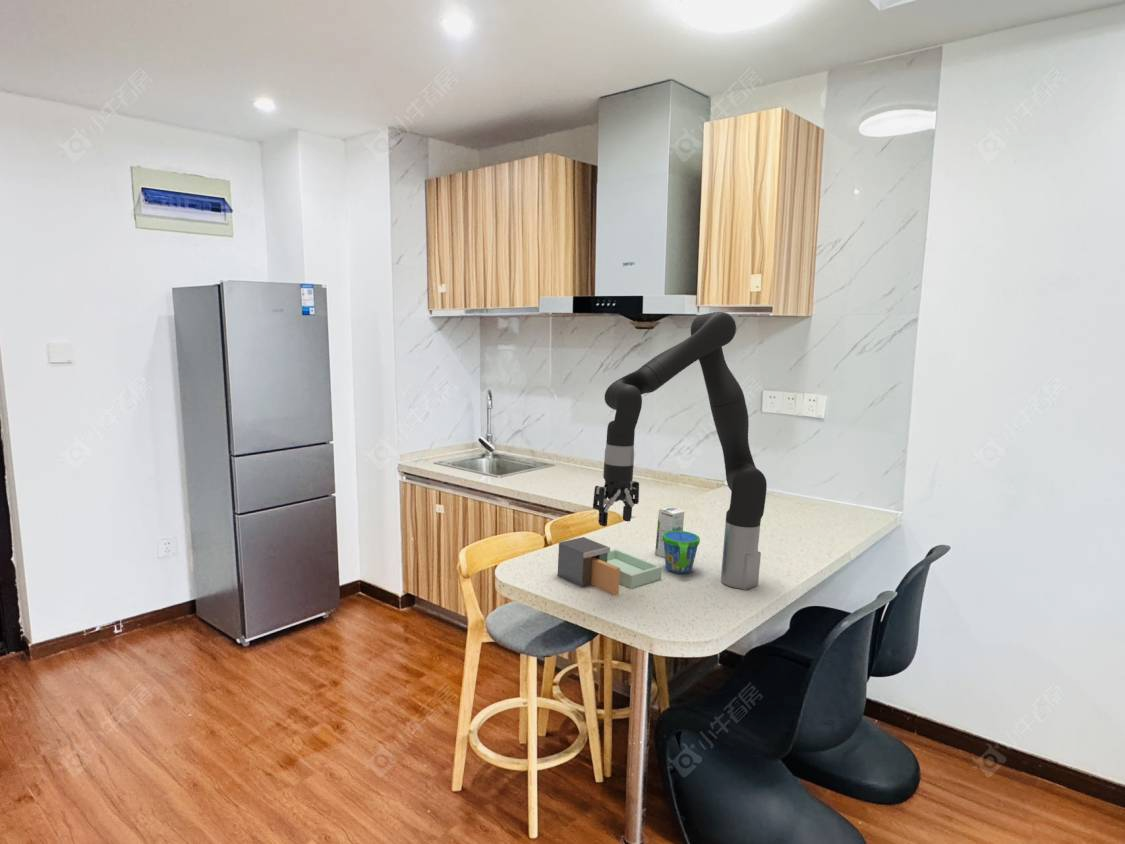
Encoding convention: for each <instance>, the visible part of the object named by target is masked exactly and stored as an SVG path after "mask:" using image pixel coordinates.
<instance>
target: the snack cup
mask: <svg viewBox="0 0 1125 844" xmlns="http://www.w3.org/2000/svg"><path fill="white" fill-rule="evenodd" d="M700 540H701V538H700V536H699V535H697V534H695V533H693V532H690V531H685V530H683V531H667V532H665V533H664V534H663V541H664V551H665V557H664V561H665V563H664V564H665V568H666V569H667V570H668V571H669V572H672V573H675V574H688V573H691V572H692V570H693V567H694V563H695V559H696V555H697V551H698V546H699V545H700V542H701V541H700Z"/></svg>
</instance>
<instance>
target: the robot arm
mask: <svg viewBox="0 0 1125 844" xmlns="http://www.w3.org/2000/svg"><path fill="white" fill-rule="evenodd" d="M736 333H737V323H736V321H735V319H734V317H733V316H732V315H730V314H729V313H727V312H725V311H713V312H708V313H704V314H700V315H697V316H696V317H695V318H694V319H693V321H692V322H691V325H690V336H689V337H688V338H685V339H684V340H683V341H681V342H680V343H678V344H675V345H674V346H671V347H670V348H668V349H666V350H664V351H663V352H661V353H659V354H657V355H656V356H654V357H653V358H652V359H650V360H648V361H647V362H646V363H644V364H643V365H642V366H641V367H639V368H638V369H637V370H634V371H633V372H631V373H629V374H626V375H625V376H622V377H620V378H619V379H616V380H615V381H613V382H612V383H611V384H610V385H609V386H608V387H607V389H606V390H605V392H604V402H605V404H606V405H607V407H608V408H610V409H612V410H615V414H614V415H615V416H614V420H611V421H609V422H608V423H607V430H606V443H605V449H604V457H603V459H604V461H603V476H602V478H603V479H604V481H605V482H604V485H603V486H599V485H596V486H595V487H594V491H593V492H594V493H593V500H592V501H593V502H592V509H594V510H597V511H598V525H600V526H601V527H607V526H608V519H609V518H608V517H609V516H608V515H609V512H608V511H609V509H610V508H611V506H613V505H614V504H615V503H616V502H619V501H622V504H623V507H622V509H623V511H622V520H623V521H625V522H628V523H629V522H630V521H631V519H632V513H633V507H634V506H635V505H639V502H640V500H639V499H640V496H639V495H640V483H639V482H638V481H635V480H633V479H634V478H633V477H634V466H635V465H634V462H635V432H636V427H637V424H638V422H639V421H638V420H639V419H640V418H639V417H640V413H641V410H642V405H643V398H642V395H644V394H650V393H653V392H656V391H657V390H659V388H661V387H662V386H663V385H665V384H667V382H669V381H670V380H671V379H673V378H674V377H676V376H677V375H678V374H679V373H681V372H682V371H684V370H685V369H686V368H687V367H688V368H689V366H691V365H692V364H694V363H695V362H697V361H699V364H700V367H701V371H702V376H703V380H704V384H705V388H706V392H707V396H708V401H709V407H710V410H711V414H712V415H711V416H712V418H713V422H714V426H715V430H716V434H717V437H718V439H719V443H720V446H721V450H722V455H723V462H724V470H725V478H726V479H725V480H726V484H727V486H728V488H729V490H730V491H731V492H730V493H731V494H730V503H729V509H728V510H727V511H726V513H725V523H724V534H723V535H724V538H723V547H722V549H723V550H722V559H721V572H720V582H721V584H723V585H725V586H727V587H731V588H734V589H741V590H744V591H746V590H749V589H752V588H755V587H757V586H758V585H759V579H760V567H761V558H762V557H761V555H762V553H761V551H759V542H760V531H761V522H762V518H763V516H764V513H765V505H766V499H767V487H768V486H767V479H766V476H765V474H764V473H763V472H762V471H761V470H760V469H759V468H757V467H756V465H755V462H754V458H753V456H752V455H753V454H752V452H751V449H750V448H751V447H750V443H749V425H750V424H749V423H750V422H749V413H748V412H749V411H748V407H747V403H746V399H745V395H744V391H743V389H742V387H741V385H740V384H739V382H738V381H737V378H736V377H735V375H734V374H733V373H732V371H731V370H730V368H729V366H728V364H727V362H726V359H725V356H724V351H723V347H724V346H726V345H729V344H730V343H731V342H732V340H733V339H734V337H735V336H736Z"/></svg>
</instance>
